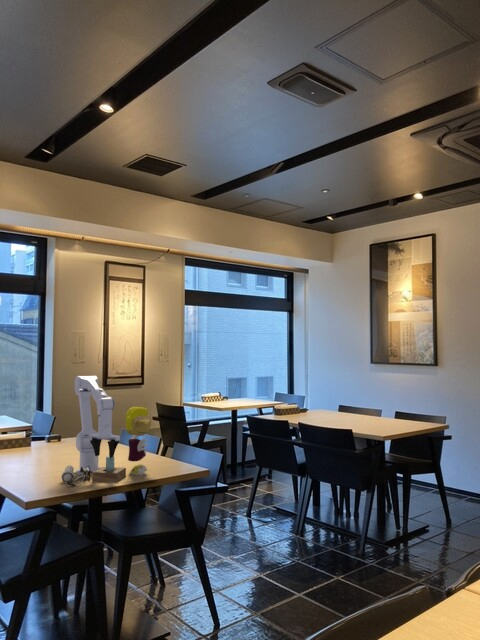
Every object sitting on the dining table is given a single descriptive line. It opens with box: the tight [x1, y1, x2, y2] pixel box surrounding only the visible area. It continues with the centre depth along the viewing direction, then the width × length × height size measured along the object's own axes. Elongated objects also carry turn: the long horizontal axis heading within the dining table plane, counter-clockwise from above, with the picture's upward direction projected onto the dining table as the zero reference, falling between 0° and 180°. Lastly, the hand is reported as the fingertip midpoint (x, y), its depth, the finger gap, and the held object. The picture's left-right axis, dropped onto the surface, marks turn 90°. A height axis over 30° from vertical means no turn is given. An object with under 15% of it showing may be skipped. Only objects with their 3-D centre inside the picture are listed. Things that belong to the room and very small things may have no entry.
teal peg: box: [105, 455, 115, 471], centre depth 221 cm, size 4×4×9 cm
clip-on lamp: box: [61, 464, 92, 487], centre depth 214 cm, size 12×6×18 cm
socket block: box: [91, 466, 127, 482], centre depth 220 cm, size 11×11×4 cm
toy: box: [124, 406, 152, 476], centre depth 234 cm, size 22×12×30 cm, turn 9°
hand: (104, 456), depth 221 cm, fingers open, 7 cm apart
